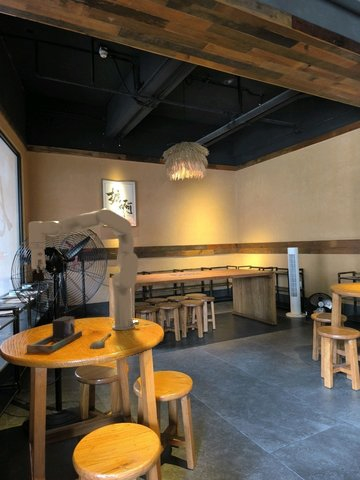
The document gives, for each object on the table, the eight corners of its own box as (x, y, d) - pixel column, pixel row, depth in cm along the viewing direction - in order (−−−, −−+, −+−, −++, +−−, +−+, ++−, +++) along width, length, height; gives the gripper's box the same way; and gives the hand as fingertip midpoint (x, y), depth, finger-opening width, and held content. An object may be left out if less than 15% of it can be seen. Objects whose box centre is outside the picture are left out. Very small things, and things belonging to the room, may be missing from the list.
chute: (82, 335, 166) (81, 329, 166) (50, 352, 139) (50, 345, 139) (61, 335, 168) (61, 329, 168) (26, 352, 141) (26, 345, 141)
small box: (64, 342, 154) (63, 320, 154) (52, 342, 155) (51, 320, 156) (75, 336, 164) (75, 316, 165) (64, 336, 166) (63, 316, 166)
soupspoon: (87, 351, 142) (101, 352, 142) (87, 344, 142) (102, 344, 142) (103, 336, 164) (116, 336, 163) (103, 329, 164) (116, 330, 163)
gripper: (49, 245, 155) (50, 281, 155) (41, 246, 169) (42, 279, 169) (32, 246, 151) (33, 282, 150) (25, 247, 165) (26, 280, 164)
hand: (38, 280), depth 160 cm, fingers open, 9 cm apart
